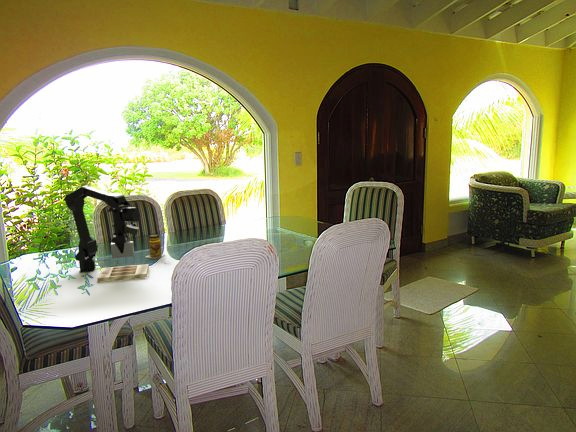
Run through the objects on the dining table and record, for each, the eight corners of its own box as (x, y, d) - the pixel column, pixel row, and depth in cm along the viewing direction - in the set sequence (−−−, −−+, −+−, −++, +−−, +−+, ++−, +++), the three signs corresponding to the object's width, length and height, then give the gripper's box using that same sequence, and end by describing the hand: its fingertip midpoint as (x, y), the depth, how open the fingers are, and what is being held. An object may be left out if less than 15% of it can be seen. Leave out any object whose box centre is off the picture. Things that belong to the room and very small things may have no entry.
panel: (112, 258, 220) (110, 244, 219) (112, 256, 222) (111, 242, 221) (133, 256, 222) (132, 242, 221) (134, 254, 225) (132, 241, 223)
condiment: (155, 259, 248) (153, 237, 245) (144, 257, 252) (142, 235, 249) (165, 255, 254) (163, 234, 251) (154, 253, 258) (152, 232, 255)
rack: (97, 282, 214) (97, 277, 214) (102, 271, 228) (102, 267, 228) (146, 277, 219) (146, 273, 218) (148, 267, 233) (148, 263, 233)
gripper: (135, 223, 212) (138, 256, 215) (138, 215, 229) (141, 245, 233) (109, 225, 209) (113, 258, 212) (114, 217, 227) (118, 247, 230)
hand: (122, 252), depth 222 cm, fingers closed on panel, 2 cm apart
